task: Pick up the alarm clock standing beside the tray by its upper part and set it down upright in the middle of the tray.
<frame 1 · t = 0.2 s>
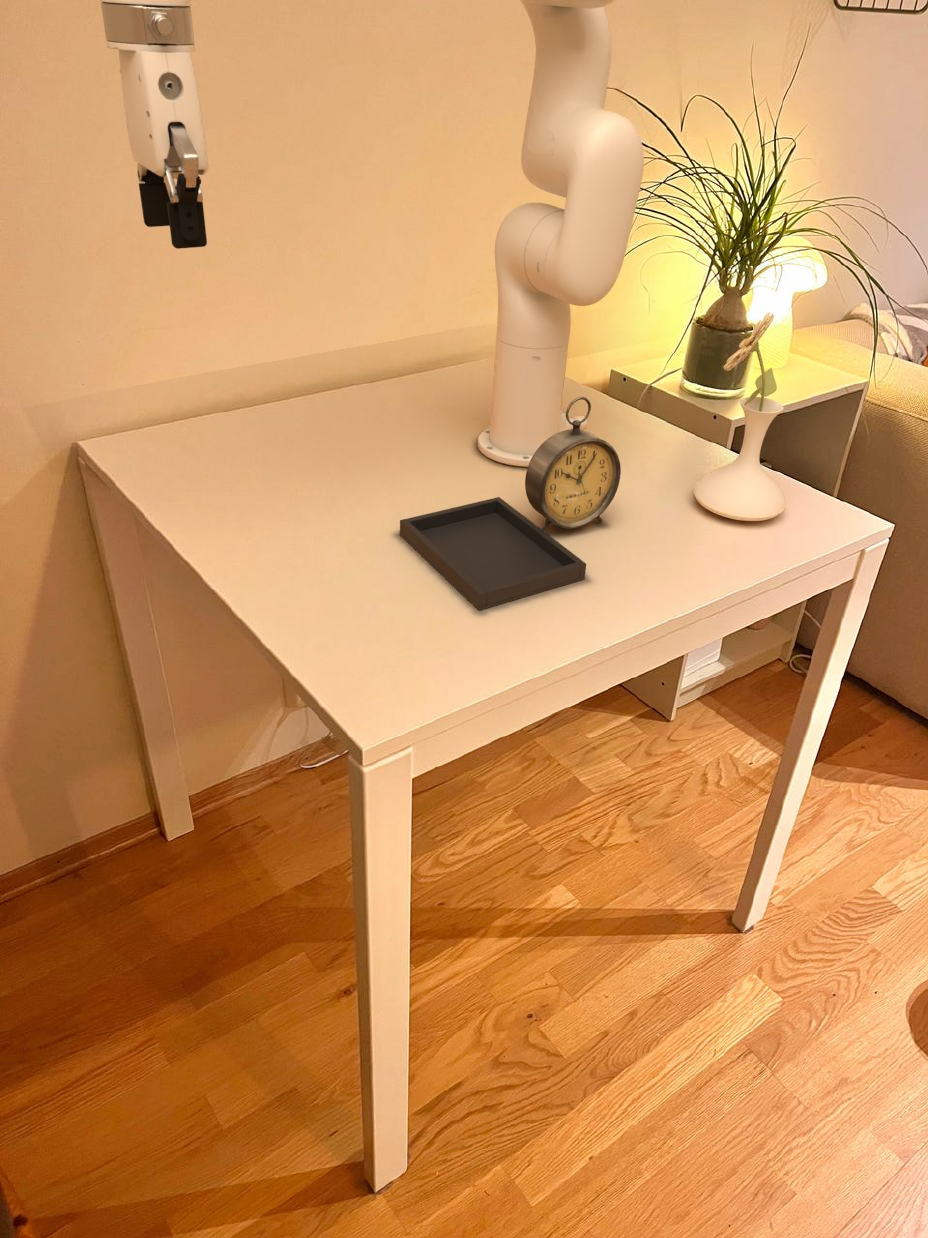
hand: (174, 235, 90), 31 cm above the table, tool pointing down, fingers open, 9 cm apart
alarm clock: (564, 527, 110), on the table
tray: (489, 556, 103), on the table
flower in vase: (732, 511, 116), on the table
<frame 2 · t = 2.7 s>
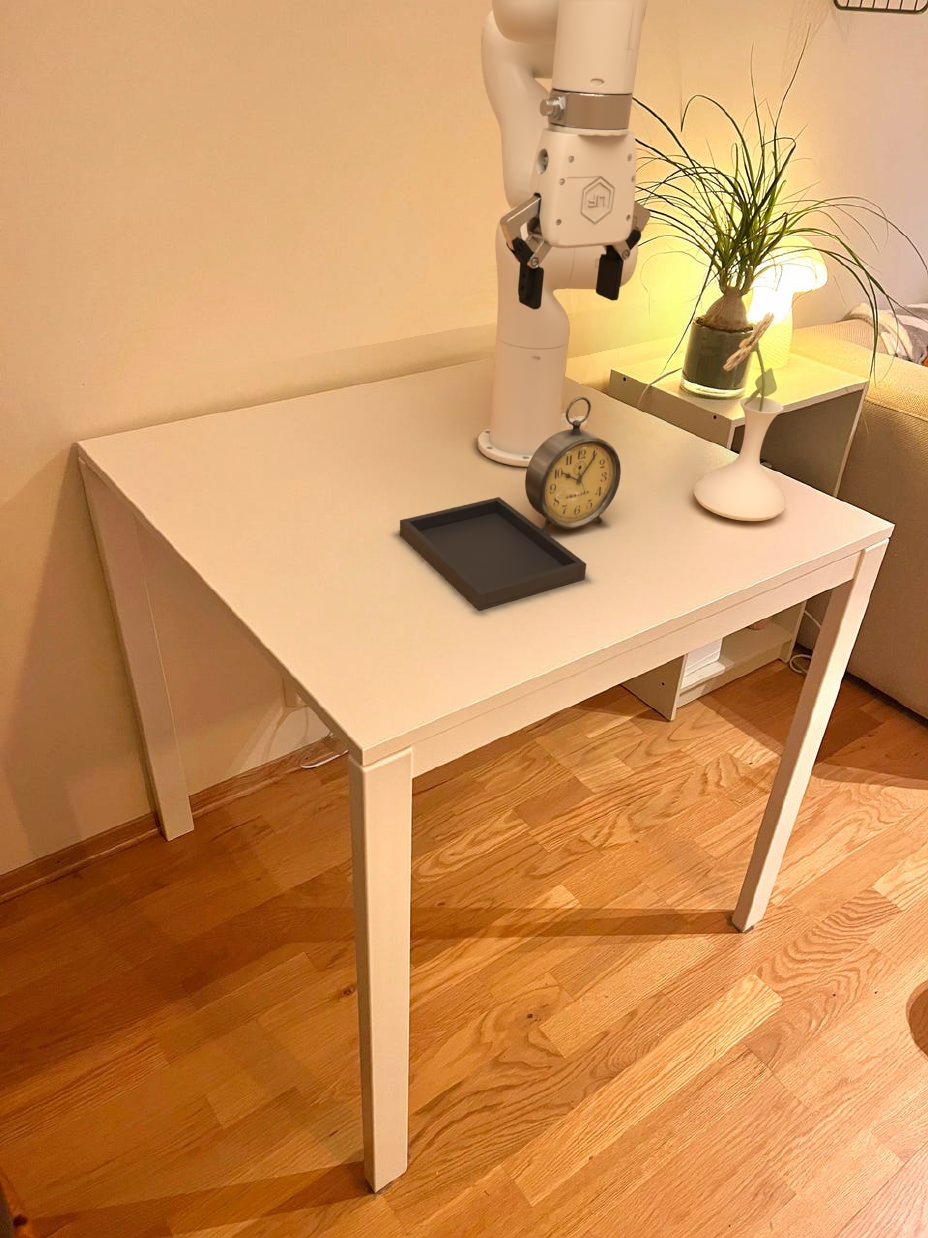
hand: (568, 301, 95), 26 cm above the table, tool pointing down, fingers open, 9 cm apart
nothing on the table moved.
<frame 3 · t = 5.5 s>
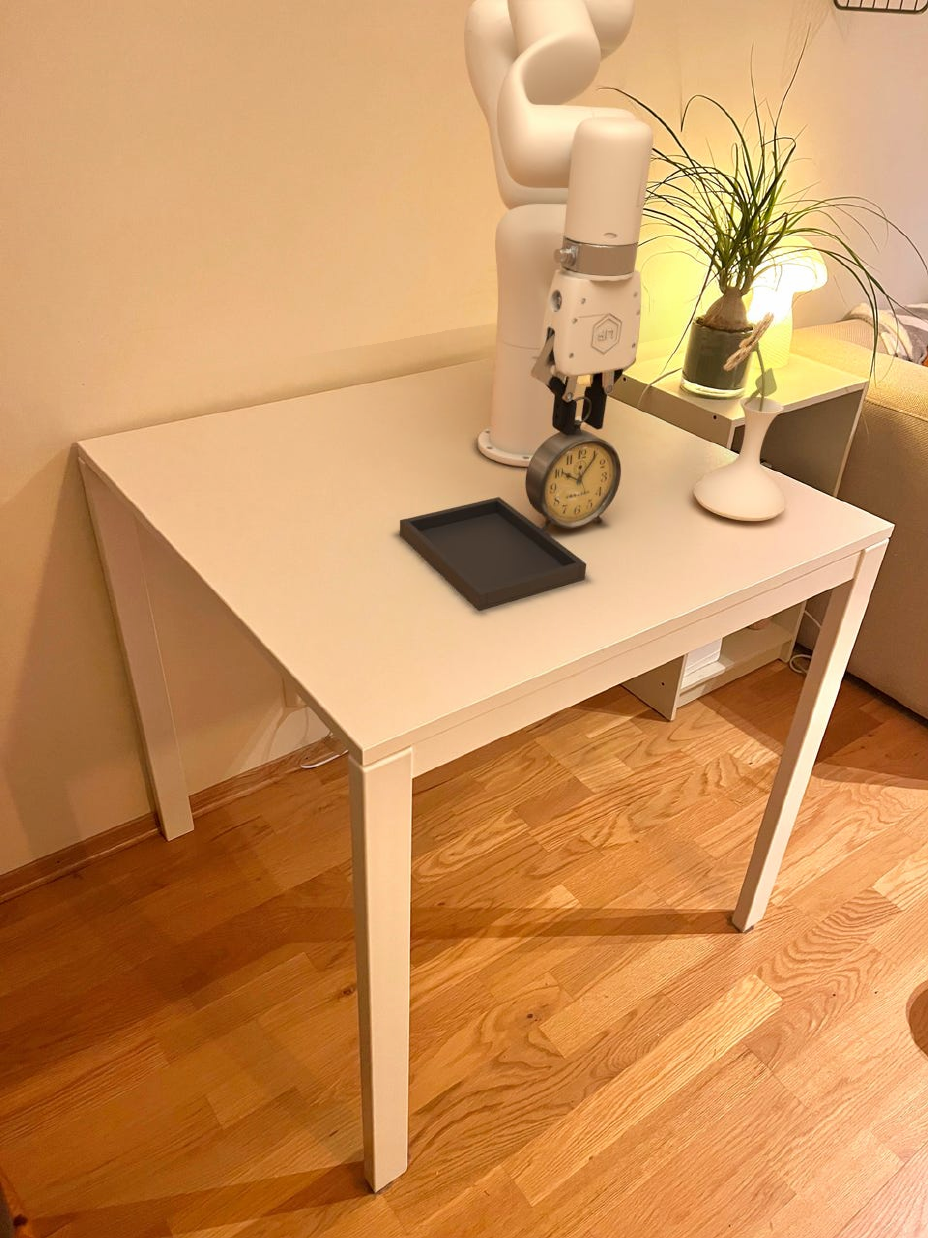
hand: (577, 426, 103), 13 cm above the table, tool pointing down, fingers closed on alarm clock, 3 cm apart
alarm clock: (564, 527, 110), on the table, touching gripper
everything else where it was.
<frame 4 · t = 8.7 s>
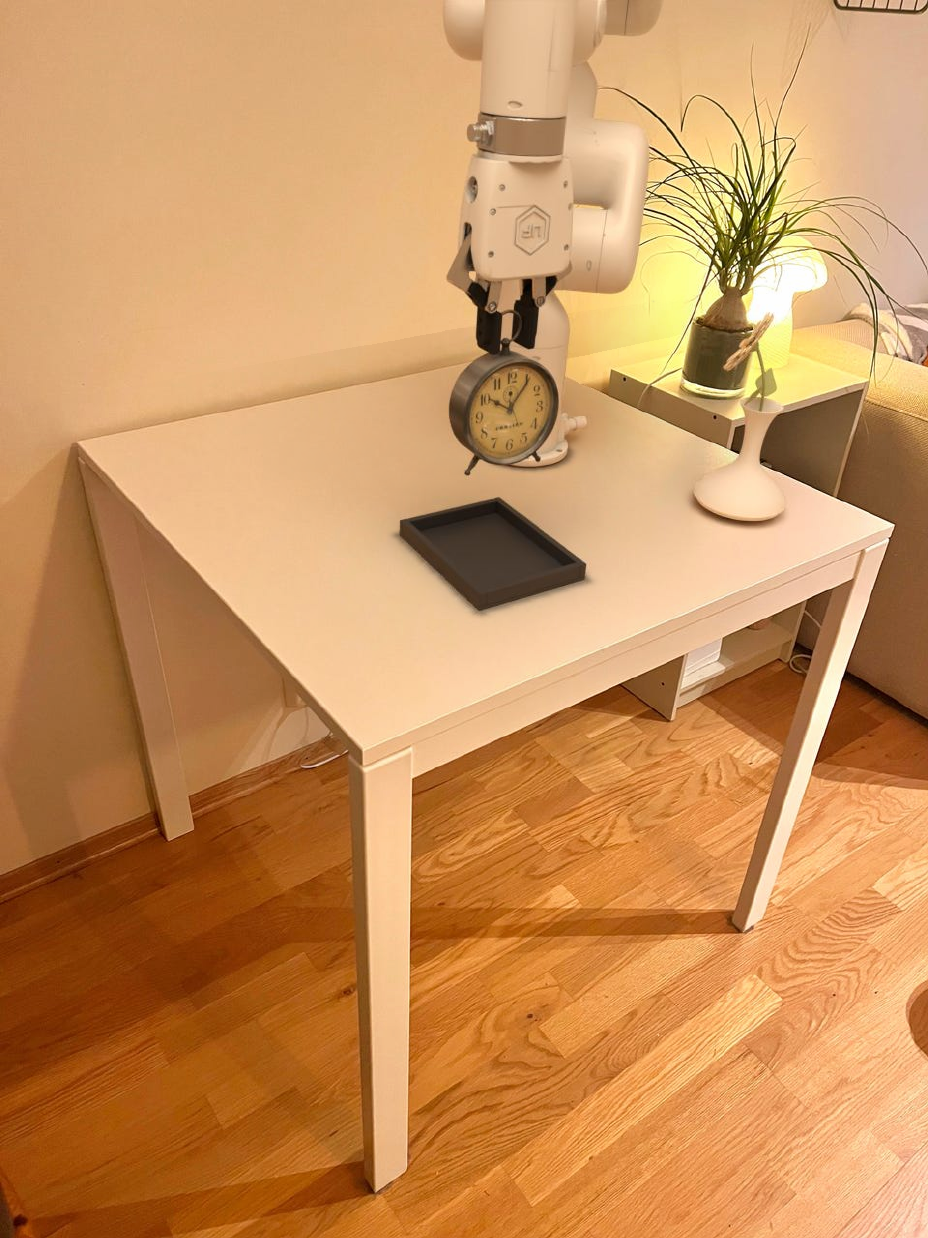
hand: (505, 345, 89), 24 cm above the table, tool pointing down, fingers closed on alarm clock, 3 cm apart
alarm clock: (497, 466, 97), point 11 cm above the table, touching gripper
everything else where it was.
when the fingers open (13 cm above the table, at t = 11.9 s): alarm clock stays where it is, resting on tray.
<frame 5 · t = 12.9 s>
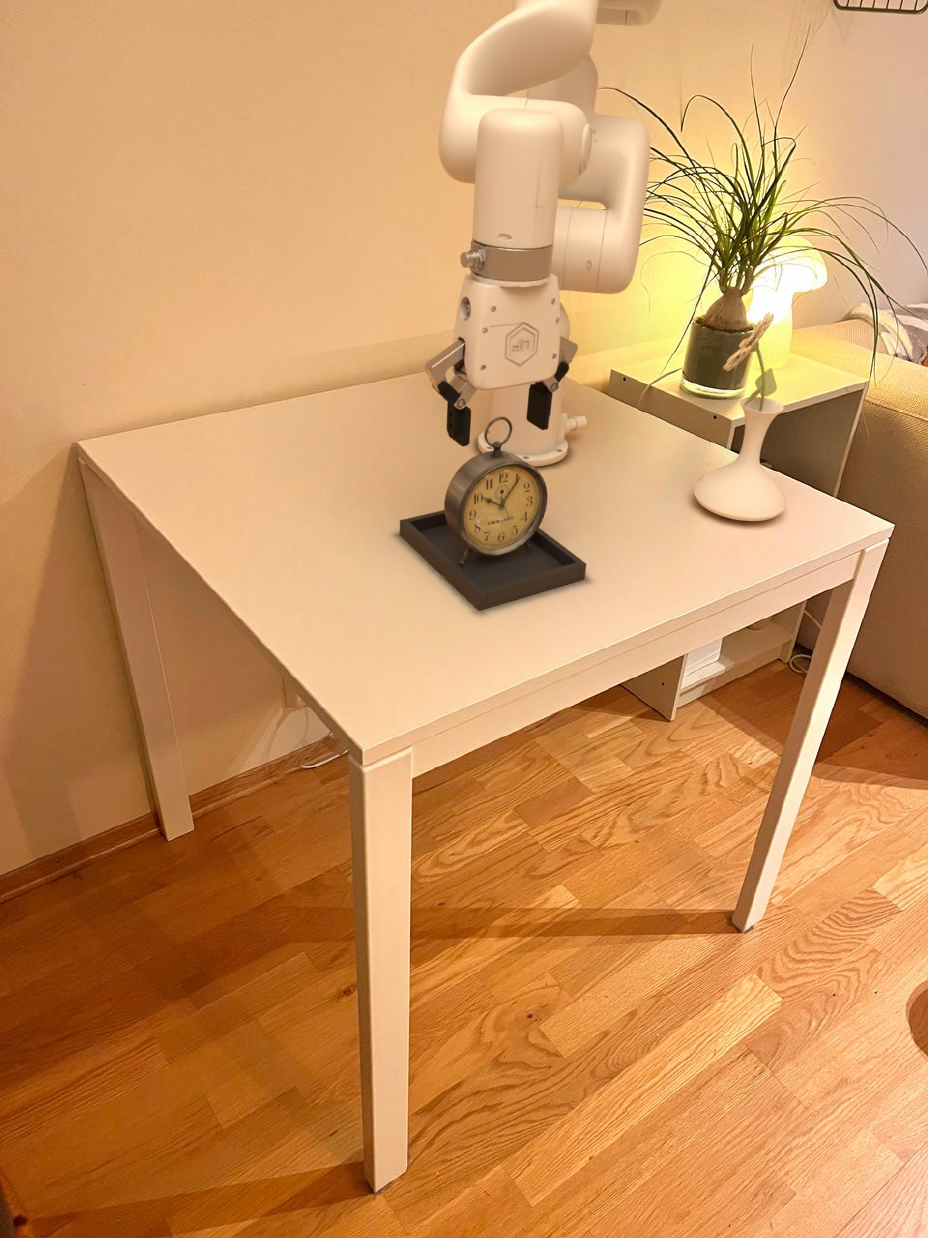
hand: (498, 433, 95), 15 cm above the table, tool pointing down, fingers open, 9 cm apart
alarm clock: (490, 554, 103), resting on tray
everything else where it was.
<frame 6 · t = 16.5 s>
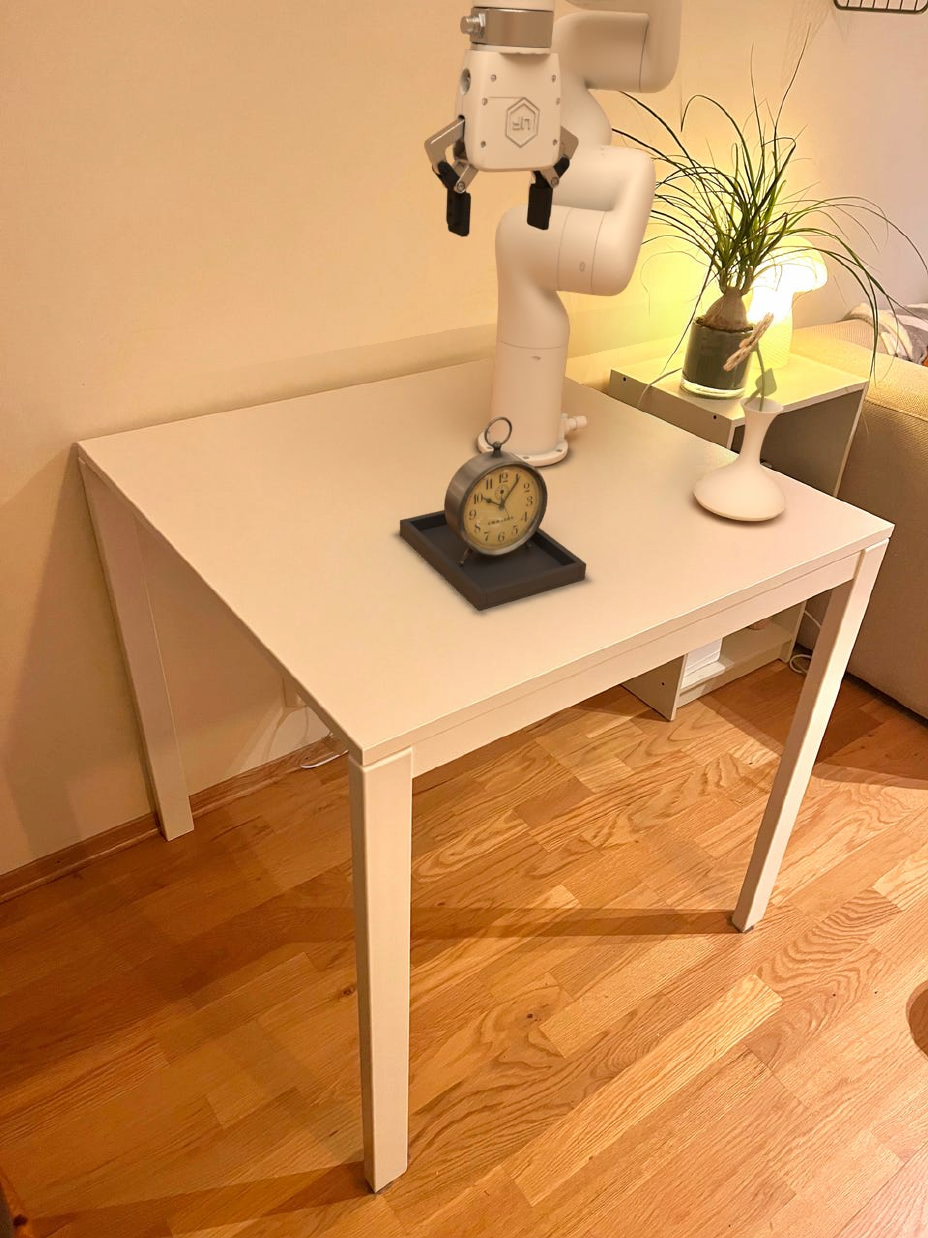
hand: (498, 230, 94), 32 cm above the table, tool pointing down, fingers open, 9 cm apart
nothing on the table moved.
at the end: alarm clock inside the target area in the tray (0.1 cm from its centre), point 0.2 cm above the tray's base; alarm clock tilted 0°; the gripper is holding nothing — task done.
